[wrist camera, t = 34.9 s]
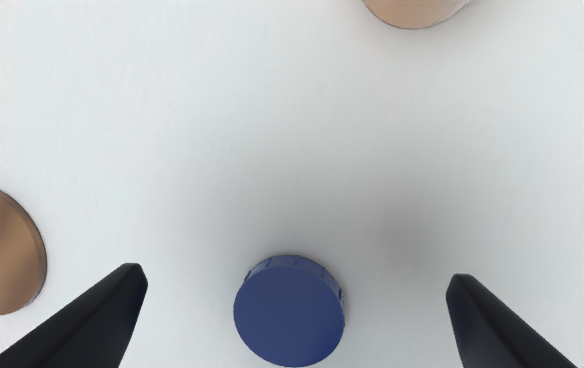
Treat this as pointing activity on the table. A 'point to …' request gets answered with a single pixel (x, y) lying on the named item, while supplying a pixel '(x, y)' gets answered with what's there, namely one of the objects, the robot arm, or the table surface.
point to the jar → (414, 11)
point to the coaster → (19, 257)
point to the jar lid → (290, 311)
